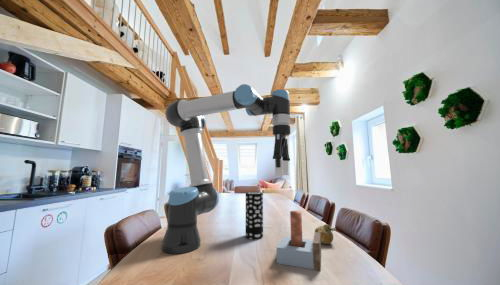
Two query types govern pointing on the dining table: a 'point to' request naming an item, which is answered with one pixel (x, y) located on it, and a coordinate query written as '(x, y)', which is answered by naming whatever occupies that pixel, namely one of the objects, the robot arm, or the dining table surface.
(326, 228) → the onion
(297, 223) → the dowel
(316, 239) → the walnut wall
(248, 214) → the white-spotted black cylinder
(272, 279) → the dining table surface
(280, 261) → the socket block
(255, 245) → the dining table surface
